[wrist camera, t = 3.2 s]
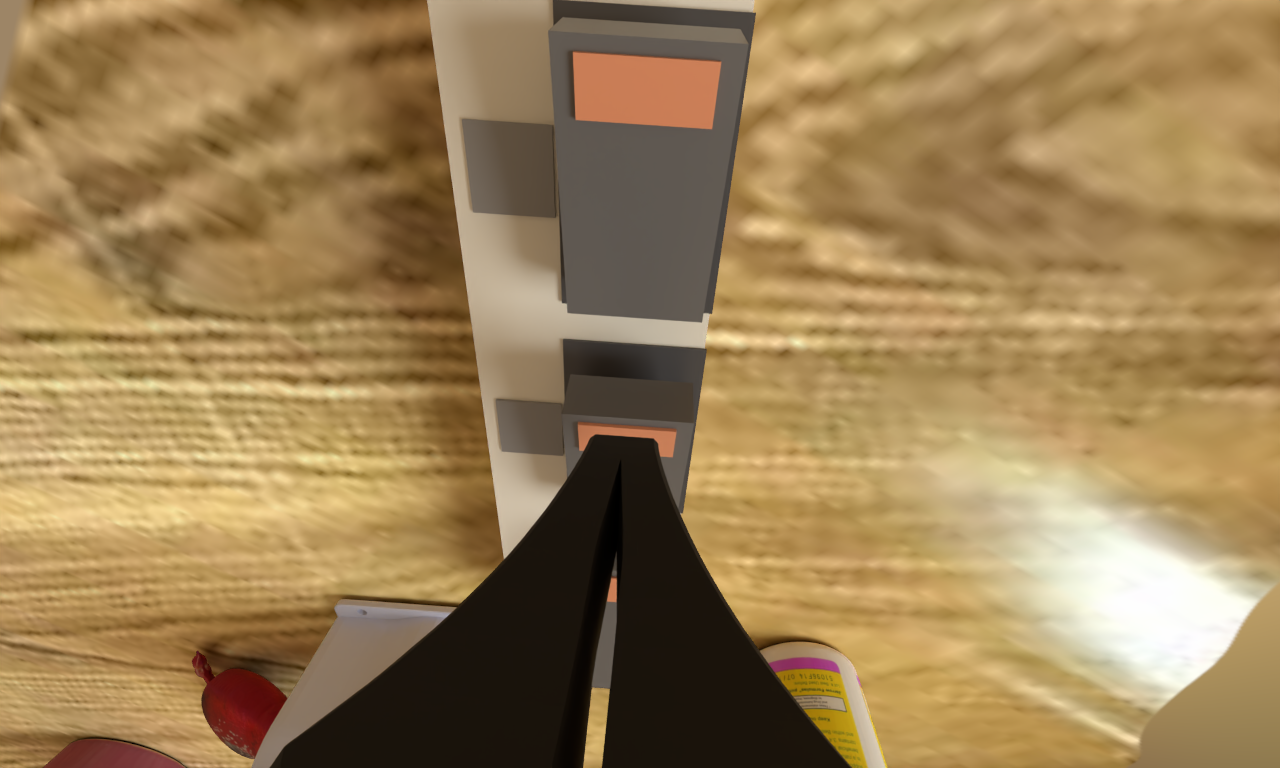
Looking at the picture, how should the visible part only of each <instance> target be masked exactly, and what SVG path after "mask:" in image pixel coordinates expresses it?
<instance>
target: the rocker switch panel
mask: <svg viewBox="0 0 1280 768" xmlns="http://www.w3.org/2000/svg"><path fill="white" fill-rule="evenodd" d="M427 4H428V11H429V19H430V26H431V33H432V40H433V48H434V55H435V62H436V69H437V77H438V84H439V91H440V98H441V106H442V113H443V120H444V127H445V135H446V142H447V149H448V156H449V164H450V171H451V178H452V185H453V193H454V200H455V207H456V214H457V222H458V229H459V236H460V244H461V251H462V258H463V265H464V273H465V280H466V287H467V294H468V302H469V309H470V316H471V323H472V331H473V338H474V345H475V352H476V360H477V367H478V374H479V381H480V389H481V396H482V403H483V410H484V418H485V425H486V432H487V439H488V447H489V454H490V461H491V468H492V476H493V483H494V490H495V498H496V505H497V512H498V519H499V527H500V534H501V541H502V548H503V556H504V559H505V558H506V557H507V556H508V555H509V553H510V552H511V551H512V550H513V549H514V548H515V547H516V545H517V544H518V543H519V542H520V541H521V540H522V538H523V537H524V536H525V535H526V533H527V532H528V531H529V530H530V528H531V527H532V526H533V525H534V523H535V522H536V521H537V520H538V518H539V517H540V516H541V515H542V513H543V512H544V511H545V509H546V508H547V507H548V505H549V504H550V503H551V501H552V500H553V498H554V497H555V496H556V494H557V493H558V491H559V490H560V488H561V487H562V485H563V484H564V483H565V481H566V480H567V478H568V477H567V467H566V457H565V446H564V436H563V426H562V415H561V413H562V409H563V405H564V400H565V396H566V392H567V387H568V383H569V378H570V374H573V375H587V376H601V377H615V378H629V379H643V380H657V381H671V382H686V383H693V404H694V427H693V432H692V437H691V443H690V448H689V454H688V459H687V464H686V470H685V475H684V480H683V486H682V491H681V496H680V502H679V507H678V510H679V512H680V515H681V513H683V508H684V502H685V495H686V488H687V481H688V474H689V467H690V461H691V454H692V447H693V440H694V433H695V426H696V419H697V413H698V406H699V399H700V392H701V385H702V378H703V372H704V365H705V358H706V351H707V350H706V349H705V342H706V335H707V328H708V321H709V314H712V310H713V303H714V296H715V289H716V282H717V276H718V269H719V262H720V255H721V248H722V241H723V235H724V228H725V221H726V214H727V207H728V200H729V193H730V187H731V180H732V173H733V166H734V159H735V152H736V145H737V139H738V132H739V125H740V118H741V111H742V104H743V98H744V91H745V84H746V77H747V70H748V63H749V56H750V50H751V43H752V36H753V29H754V22H755V15H756V13H753V7H754V0H427ZM562 17H566V18H582V19H597V20H612V21H627V22H642V23H657V24H672V25H687V26H702V27H717V28H732V29H741V31H742V33H743V35H744V37H745V38H746V40H747V42H748V44H749V45H748V51H747V57H746V63H745V69H744V75H743V81H742V87H741V93H740V98H739V104H738V110H737V116H736V122H735V128H734V134H733V140H732V146H731V152H730V158H729V164H728V170H727V176H726V182H725V188H724V194H723V200H722V206H721V212H720V218H719V224H718V230H717V236H716V242H715V248H714V254H713V260H712V266H711V272H710V278H709V284H708V290H707V296H706V302H705V308H704V314H703V320H702V323H700V322H686V321H672V320H657V319H643V318H629V317H615V316H600V315H586V314H572V313H567V299H566V284H565V270H564V255H563V241H562V226H561V212H560V197H559V183H558V168H557V154H556V139H555V125H554V110H553V96H552V81H551V67H550V52H549V38H548V30H549V29H550V28H552V27H553V26H554V25H555V24H556V23H557V22H558V21H559V20H560V19H561V18H562Z"/></svg>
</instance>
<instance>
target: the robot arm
mask: <svg viewBox="0 0 1280 768" xmlns="http://www.w3.org/2000/svg"><path fill="white" fill-rule="evenodd" d="M616 551H617V623H616V634H615V644H614V654H613V664H612V674H611V684H610V694H609V704H608V714H607V724H606V734H605V744H604V753H603V763H602V768H852V767H851V766H850V765H849V764H848V762H847V761H846V760H845V759H844V758H843V757H842V755H841V754H840V753H839V752H838V751H837V750H836V749H835V747H834V746H833V745H832V744H831V743H830V741H829V740H828V739H827V738H826V737H825V735H824V734H823V733H822V732H821V731H820V729H819V728H818V727H817V726H816V725H815V723H814V722H813V721H812V720H811V719H810V717H809V716H808V715H807V713H806V712H805V711H804V710H803V708H802V707H801V706H800V705H799V703H798V702H797V701H796V699H795V698H794V697H793V696H792V694H791V693H790V692H789V691H788V689H787V688H786V687H785V685H784V684H783V683H782V682H781V680H780V679H779V678H778V676H777V675H776V673H775V672H774V671H773V669H772V668H771V666H770V665H769V664H768V662H767V661H766V659H765V658H764V657H763V655H762V654H761V652H760V651H759V650H758V648H757V647H756V645H755V644H754V643H753V641H752V640H751V638H750V637H749V636H748V634H747V633H746V631H745V630H744V629H743V627H742V626H741V624H740V622H739V621H738V619H737V618H736V616H735V615H734V613H733V611H732V610H731V608H730V607H729V605H728V604H727V602H726V600H725V599H724V597H723V595H722V594H721V592H720V590H719V589H718V587H717V585H716V584H715V582H714V580H713V579H712V577H711V575H710V573H709V571H708V570H707V568H706V566H705V564H704V562H703V560H702V559H701V557H700V555H699V553H698V551H697V549H696V547H695V545H694V543H693V541H692V539H691V537H690V535H689V533H688V530H687V528H686V526H685V524H684V522H683V519H682V517H681V515H680V512H679V510H678V507H677V505H676V502H675V500H674V498H673V495H672V493H671V490H670V487H669V484H668V481H667V478H666V475H665V472H664V469H663V465H662V462H661V458H660V453H659V447H658V443H657V442H656V441H655V439H654V438H642V437H628V436H614V435H600V434H595V435H594V436H592V437H591V438H590V439H589V441H588V444H587V446H586V448H585V450H584V451H583V453H582V455H581V457H580V459H579V460H578V462H577V464H576V465H575V467H574V469H573V470H572V472H571V473H570V475H569V477H568V478H567V480H566V481H565V483H564V484H563V485H562V487H561V488H560V490H559V491H558V493H557V494H556V496H555V497H554V498H553V500H552V501H551V503H550V504H549V505H548V507H547V508H546V509H545V511H544V512H543V513H542V515H541V516H540V517H539V518H538V520H537V521H536V522H535V523H534V525H533V526H532V527H531V528H530V530H529V531H528V532H527V533H526V535H525V536H524V537H523V538H522V540H521V541H520V542H519V543H518V544H517V545H516V547H515V548H514V549H513V550H512V551H511V552H510V553H509V555H508V556H507V557H506V558H505V559H504V560H503V561H502V562H501V563H500V564H499V565H498V567H497V568H496V569H495V570H494V571H493V572H492V573H491V574H490V575H489V576H488V577H487V578H486V579H485V580H484V581H483V582H482V583H481V584H480V585H479V586H478V587H477V588H476V589H475V590H474V591H473V592H472V593H471V594H470V595H469V596H468V597H467V598H466V599H465V600H464V601H463V602H462V603H461V604H460V605H459V606H458V607H447V606H433V605H420V604H406V603H393V602H379V601H366V600H352V599H341V600H339V601H338V602H337V604H336V605H335V607H334V609H335V611H336V614H337V616H338V617H337V618H336V620H335V622H334V623H333V625H332V626H331V628H330V630H329V631H328V633H327V635H326V636H325V638H324V640H323V641H322V643H321V644H320V646H319V648H318V649H317V651H316V653H315V654H314V656H313V658H312V659H311V661H310V663H309V664H308V666H307V667H306V669H305V671H304V672H303V674H302V676H301V677H300V679H299V681H298V682H297V684H296V686H295V687H294V689H293V690H292V692H291V694H290V695H289V697H288V699H287V700H286V702H285V704H284V705H283V707H282V708H281V710H280V712H279V713H278V715H277V717H276V718H275V720H274V722H273V723H272V725H271V727H270V728H269V730H268V732H267V734H266V736H265V737H264V739H263V741H262V744H261V746H260V748H259V750H258V752H257V755H256V757H255V760H254V762H253V765H252V768H583V763H584V753H585V744H586V735H587V726H588V716H589V707H590V698H591V689H592V680H593V673H594V667H595V661H596V654H597V649H598V644H599V639H600V634H601V629H602V624H603V618H604V613H605V608H606V603H607V598H608V593H609V588H610V583H611V577H612V572H613V567H614V562H615V557H616Z"/></svg>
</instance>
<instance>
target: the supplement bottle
mask: <svg viewBox="0 0 1280 768" xmlns="http://www.w3.org/2000/svg"><path fill="white" fill-rule="evenodd" d="M760 652H761V654H762V655H763V657H764V658H765V659H766V661H767V662H768V664H769V665H770V666H771V668H772V669H773V671H774V672H775V673H776V675H777V676H778V678H779V679H780V680H781V682H782V683H783V684H784V685H785V687H786V688H787V689H788V691H789V692H790V693H791V694H792V696H793V697H794V698H795V699H796V701H797V702H798V703H799V705H800V706H801V707H802V708H803V710H804V711H805V712H806V713H807V715H808V716H809V717H810V719H811V720H812V721H813V722H814V723H815V725H816V726H817V727H818V728H819V729H820V731H821V732H822V733H823V734H824V735H825V737H826V738H827V739H828V740H829V741H830V743H831V744H832V745H833V746H834V747H835V749H836V750H837V751H838V752H839V753H840V754H841V755H842V757H843V758H844V759H845V760H846V761H847V762H848V764H849V765H850V766H851V767H852V768H887V765H886V762H885V758H884V755H883V752H882V749H881V746H880V743H879V740H878V737H877V733H876V730H875V727H874V724H873V721H872V718H871V715H870V712H869V708H868V705H867V702H866V699H865V696H864V693H863V690H862V687H861V684H860V681H859V678H858V676H857V673H856V670H855V668H854V666H853V665H852V663H851V662H850V660H849V659H848V658H847V657H846V656H844V655H843V654H842V653H840V652H839V651H837V650H835V649H833V648H831V647H828V646H825V645H822V644H818V643H812V642H787V643H781V644H777V645H773V646H770V647H767V648H764V649H762V650H760Z"/></svg>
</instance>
